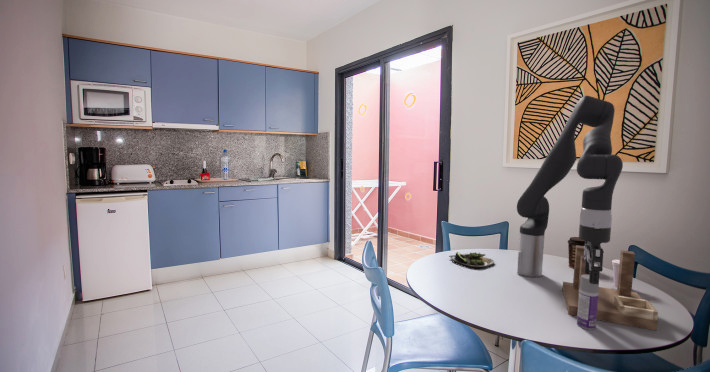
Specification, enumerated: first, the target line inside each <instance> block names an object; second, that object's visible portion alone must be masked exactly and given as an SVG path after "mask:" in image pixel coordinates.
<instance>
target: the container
mask: <svg viewBox="0 0 710 372" xmlns="http://www.w3.org/2000/svg"><path fill="white" fill-rule="evenodd" d="M589 276H590V275H581V280H580V289H579V301H578V314H577V316H576V326H577V327H580V328H582V329H583V330H589V331H594V330H596V326H597V320H596V316H597V305H598V291H599V287H600V286H599V285H600V283H599V284H591V283H590V282H589Z"/></svg>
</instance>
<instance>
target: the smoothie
mask: <svg viewBox="0 0 710 372" xmlns="http://www.w3.org/2000/svg"><path fill="white" fill-rule="evenodd" d="M611 264H612V272H613V285H614V287H615V288H617V287H618V275H619V264H620V259H612V260H611Z"/></svg>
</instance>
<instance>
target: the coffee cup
mask: <svg viewBox="0 0 710 372" xmlns="http://www.w3.org/2000/svg"><path fill="white" fill-rule="evenodd" d="M567 243H568V253H567V254H568V267H569V268H571V269H574V265H575V252H576V245H577V246H585V241H584V240H581V239H580V238H579V236H571V237H569V239H568V240H567Z"/></svg>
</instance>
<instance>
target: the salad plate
mask: <svg viewBox="0 0 710 372" xmlns="http://www.w3.org/2000/svg"><path fill="white" fill-rule="evenodd" d="M448 257H450V259H451V260H452V262H453V263H454V264H456V263H457V264H456V265H458V264H459V266H461V265H462V266H461V267H464V266H465V268H467V267H468V268H469V269H472V268H474V270H475V269H476V270H482V269H486V268H487V267H490V266H491V265H493V264H494V263H495V260H494V259H492V258H489V257H488V258H487V257H486V254H485V253H481V252H478V253H477V252H469V253H460V252H458V251H456V253H455V254H454V255H452V254H451V255H449V256H448Z"/></svg>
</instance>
